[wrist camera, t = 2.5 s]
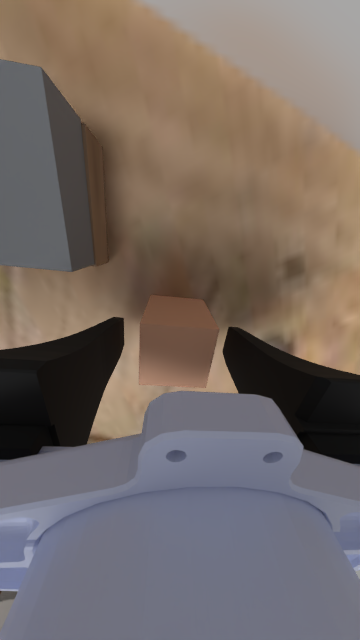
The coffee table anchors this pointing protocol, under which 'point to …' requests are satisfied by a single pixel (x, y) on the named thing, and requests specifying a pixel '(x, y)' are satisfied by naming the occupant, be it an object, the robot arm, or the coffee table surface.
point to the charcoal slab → (41, 175)
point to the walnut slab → (95, 194)
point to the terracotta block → (176, 342)
